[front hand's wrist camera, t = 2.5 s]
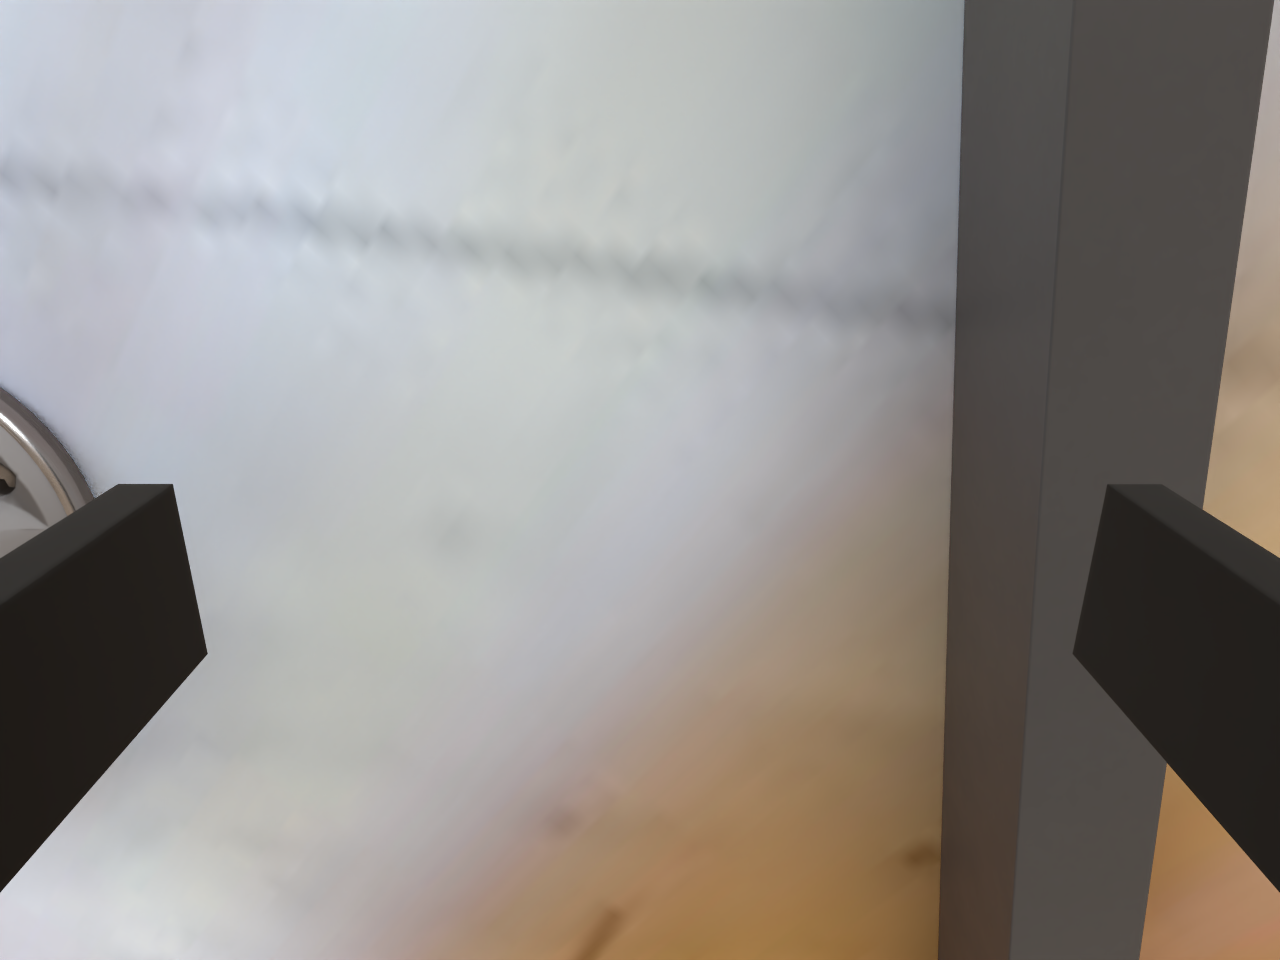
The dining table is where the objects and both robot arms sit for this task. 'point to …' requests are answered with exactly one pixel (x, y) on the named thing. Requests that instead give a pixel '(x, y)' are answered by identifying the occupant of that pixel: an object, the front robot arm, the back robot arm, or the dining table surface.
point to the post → (1075, 429)
